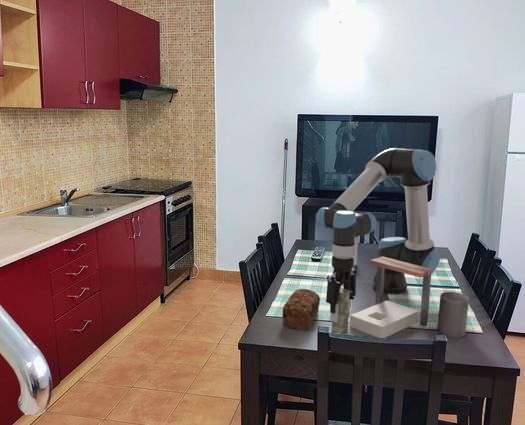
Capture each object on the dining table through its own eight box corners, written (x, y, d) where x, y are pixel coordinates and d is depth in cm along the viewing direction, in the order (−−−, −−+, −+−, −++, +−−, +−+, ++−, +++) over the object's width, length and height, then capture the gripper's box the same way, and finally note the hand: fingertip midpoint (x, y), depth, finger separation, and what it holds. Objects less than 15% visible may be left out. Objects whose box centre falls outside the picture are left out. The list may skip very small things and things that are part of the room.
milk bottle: (358, 263, 267) (360, 226, 263) (353, 267, 260) (355, 229, 257) (345, 261, 271) (346, 224, 267) (339, 265, 264) (340, 227, 261)
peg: (338, 329, 186) (340, 287, 183) (347, 333, 183) (349, 290, 180) (331, 332, 183) (333, 290, 180) (340, 336, 180) (342, 293, 177)
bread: (294, 309, 204) (295, 285, 203) (320, 313, 201) (321, 289, 199) (280, 327, 187) (281, 302, 185) (309, 332, 184) (310, 305, 182)
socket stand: (379, 307, 207) (382, 256, 203) (428, 324, 191) (433, 269, 187) (341, 323, 191) (343, 268, 187) (391, 343, 175) (395, 283, 171)
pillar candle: (432, 327, 189) (435, 288, 186) (458, 326, 190) (462, 288, 187) (443, 338, 180) (447, 298, 176) (470, 338, 180) (474, 298, 177)
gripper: (351, 249, 187) (348, 309, 191) (316, 258, 174) (314, 322, 179) (368, 253, 181) (365, 315, 186) (333, 263, 169) (330, 329, 173)
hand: (340, 318), depth 182 cm, fingers open, 6 cm apart
